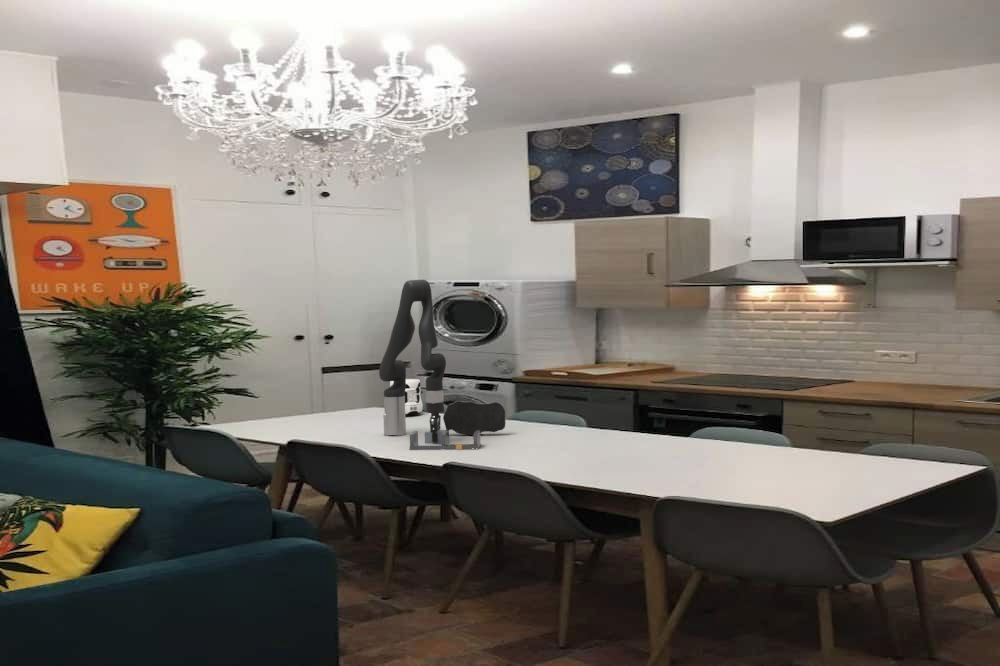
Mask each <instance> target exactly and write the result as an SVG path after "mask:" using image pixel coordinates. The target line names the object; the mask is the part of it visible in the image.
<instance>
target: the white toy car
mask: <svg viewBox="0 0 1000 666" xmlns="http://www.w3.org/2000/svg"><path fill="white" fill-rule="evenodd" d="M393 383H394V381H389V387H391V386H392V385H393ZM421 389H422V388H421V380H420V379H418V378H406V389H405V417H410V416H416V415H420V414H421V413H422V412H423V407H424V404H423V400H422V395H421Z"/></svg>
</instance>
